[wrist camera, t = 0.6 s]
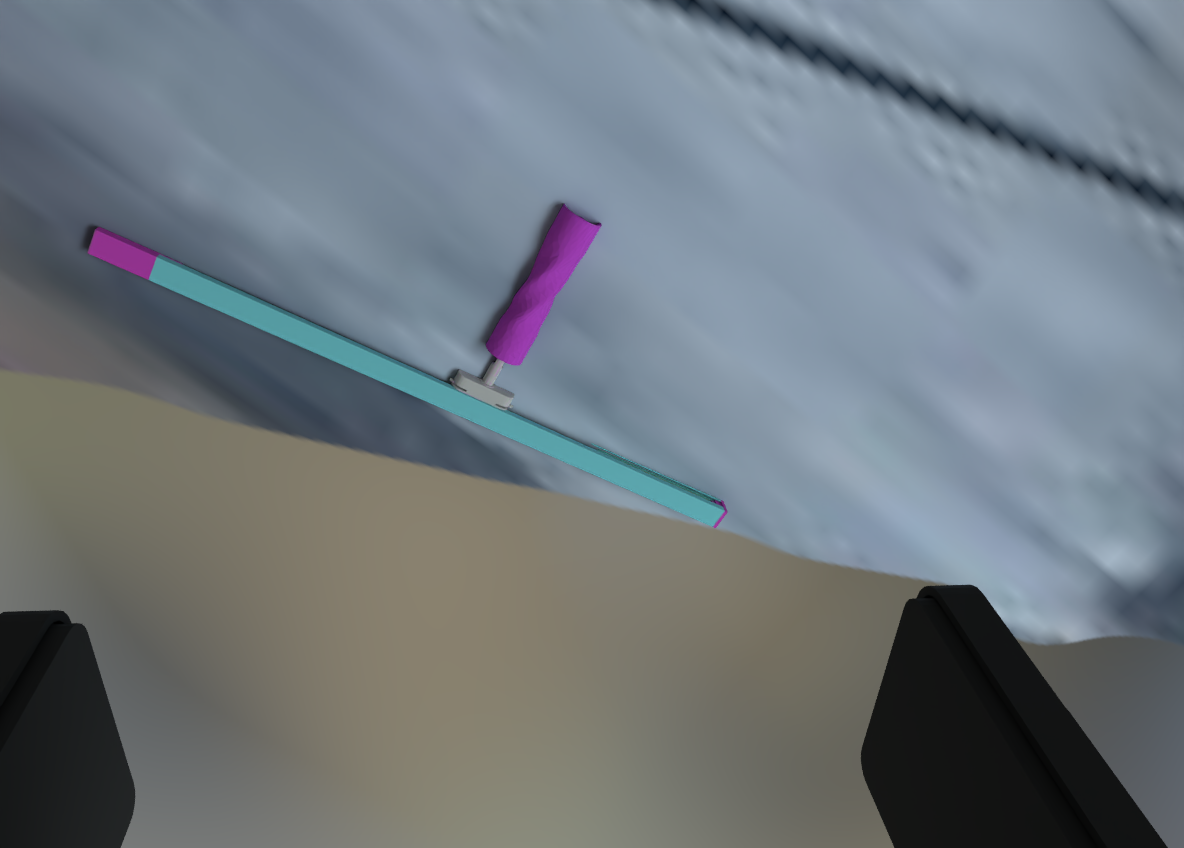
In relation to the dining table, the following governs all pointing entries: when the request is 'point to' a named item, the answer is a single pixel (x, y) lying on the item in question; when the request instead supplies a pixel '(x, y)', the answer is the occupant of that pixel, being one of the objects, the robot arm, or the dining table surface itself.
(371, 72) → the dining table surface
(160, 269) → the squeegee
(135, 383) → the dining table surface
